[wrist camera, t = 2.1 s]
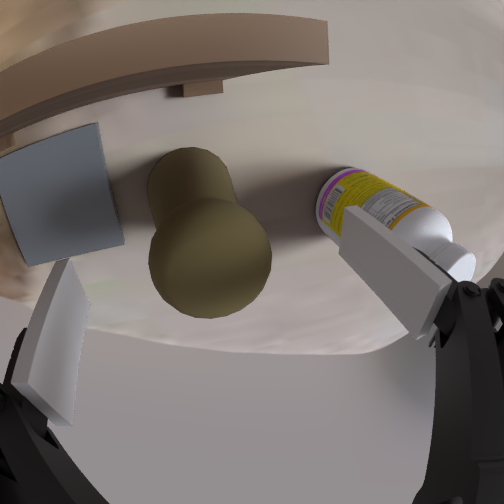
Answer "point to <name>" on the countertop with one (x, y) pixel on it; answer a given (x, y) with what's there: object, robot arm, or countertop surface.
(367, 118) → the countertop surface
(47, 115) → the screen
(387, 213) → the supplement bottle
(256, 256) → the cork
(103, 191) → the coaster
